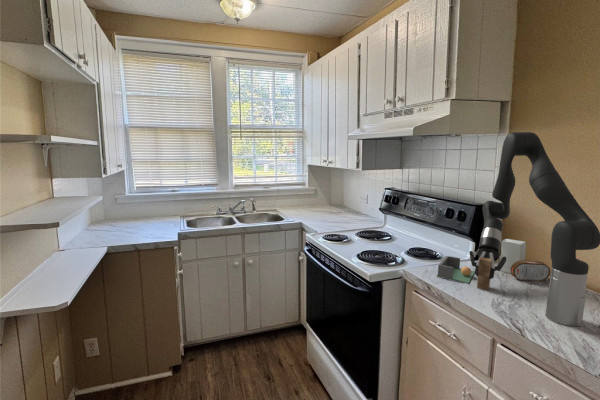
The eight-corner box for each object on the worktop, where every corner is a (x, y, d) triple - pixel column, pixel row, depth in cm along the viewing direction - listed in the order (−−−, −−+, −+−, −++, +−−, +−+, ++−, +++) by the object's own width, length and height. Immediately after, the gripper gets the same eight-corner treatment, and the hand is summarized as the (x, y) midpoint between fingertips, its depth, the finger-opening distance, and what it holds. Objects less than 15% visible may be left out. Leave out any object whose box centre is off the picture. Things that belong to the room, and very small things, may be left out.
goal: (474, 272, 152) (475, 260, 151) (468, 283, 139) (469, 271, 139) (444, 266, 160) (445, 255, 159) (436, 276, 147) (437, 264, 146)
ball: (471, 275, 148) (472, 266, 147) (469, 277, 144) (470, 269, 144) (461, 273, 150) (462, 264, 149) (459, 275, 147) (460, 267, 146)
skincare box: (524, 273, 151) (527, 241, 149) (518, 276, 147) (522, 244, 145) (504, 268, 158) (507, 237, 155) (498, 270, 154) (501, 239, 152)
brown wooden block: (489, 287, 136) (492, 258, 134) (488, 290, 133) (490, 261, 131) (478, 284, 138) (480, 257, 136) (476, 288, 135) (479, 259, 133)
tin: (545, 279, 144) (547, 260, 143) (550, 282, 141) (552, 263, 140) (508, 278, 146) (510, 259, 145) (512, 280, 143) (514, 262, 142)
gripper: (471, 233, 142) (463, 268, 135) (510, 238, 134) (504, 276, 126) (472, 242, 147) (464, 277, 140) (509, 248, 139) (504, 285, 131)
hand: (483, 276), depth 133 cm, fingers closed on brown wooden block, 4 cm apart
